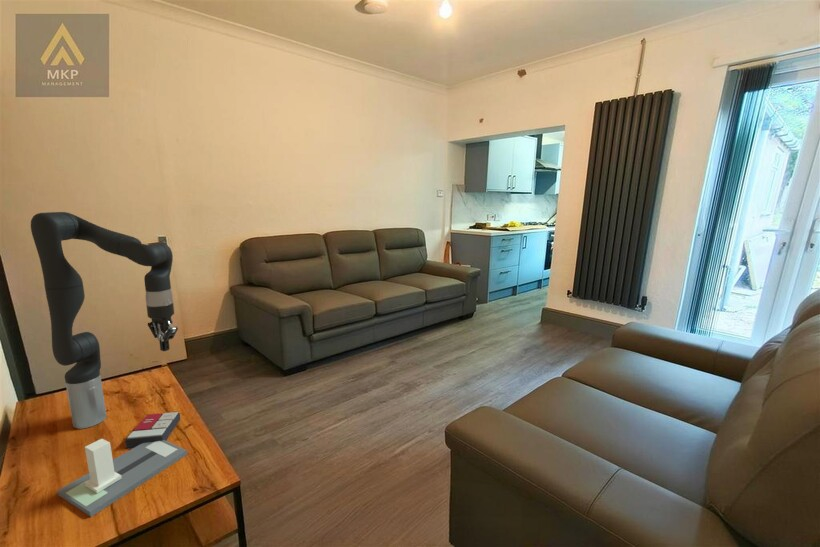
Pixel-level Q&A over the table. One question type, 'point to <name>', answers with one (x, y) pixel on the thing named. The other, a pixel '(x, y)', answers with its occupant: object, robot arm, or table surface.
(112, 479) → the switch slider
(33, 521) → the table surface
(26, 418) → the table surface
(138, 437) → the calculator
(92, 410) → the robot arm
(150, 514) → the table surface
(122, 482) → the switch panel
